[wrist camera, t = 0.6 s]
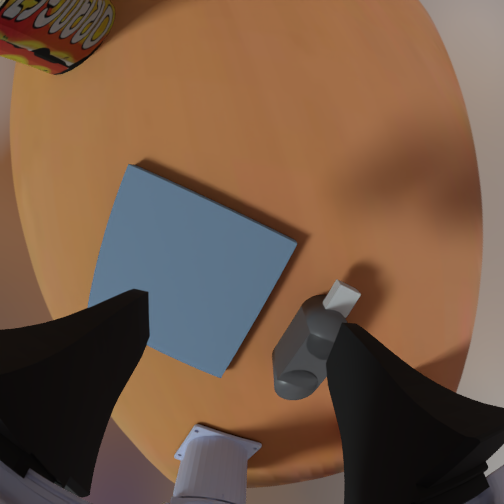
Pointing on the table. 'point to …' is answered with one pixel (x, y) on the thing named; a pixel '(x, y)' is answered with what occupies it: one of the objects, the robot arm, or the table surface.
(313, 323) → the dark grey rounded block
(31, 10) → the beverage can
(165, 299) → the blue-grey mat
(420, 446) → the robot arm
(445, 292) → the table surface
